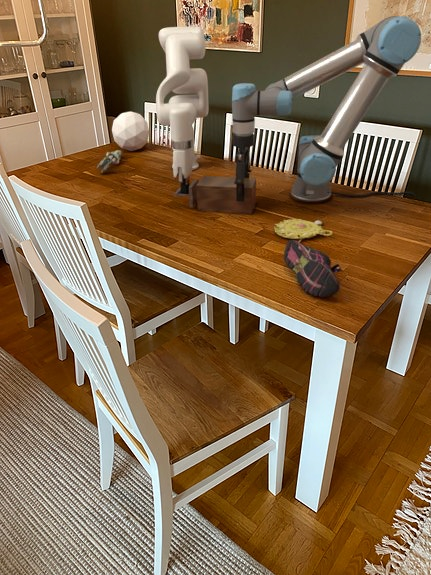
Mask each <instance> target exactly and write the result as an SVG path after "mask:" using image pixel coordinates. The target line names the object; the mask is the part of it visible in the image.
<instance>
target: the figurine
mask: <svg viewBox="0 0 431 575" xmlns="http://www.w3.org/2000/svg"><path fill="white" fill-rule="evenodd" d="M122 153H123V152H122V150H115V151H111V152H110V151H107V152H106V153H105V155H106V156H104V157H103V158H102V159H101V161H100V162H99V163H98V165H97V167H96V169H97V170H100V173H101V174H104V173H105V172H106V171H107V170H108V169H109V168H110V167H111V166H112V165H119V164H120V160H121V158H122V157H123V154H122Z"/></svg>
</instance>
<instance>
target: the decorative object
mask: <svg viewBox="0 0 431 575" xmlns="http://www.w3.org/2000/svg"><path fill="white" fill-rule="evenodd" d="M322 225H323V221H321V220H314V222H313V221H310V220H304V219H303V218H292V219H283V221H279V223H274V227H273V229H274V233H276V234H277V236H279V237H282V238H284V239H285V238H286V239H290V240H298V242H299V243H300V242H302V240H305V239H310V238H313V237H315V236H317V235H319V236H320V235H321V236H325V237H329V236H331V235H333V231H332V230H325V229H323V227H322ZM326 233H327V234H326Z"/></svg>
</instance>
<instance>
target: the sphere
mask: <svg viewBox="0 0 431 575" xmlns="http://www.w3.org/2000/svg"><path fill="white" fill-rule="evenodd" d="M149 128H150V127H149V123H148V122H147V120H146V119H145V118H144V117H143V115H141V114H140V113H139V112H134V111H125V112H122V113H120V114H119V115H118V116H117V117H116V118H114V120H113V122H112V127H111V132H112V136H113V141H114V142H115V143H116V144H117V145H118V147H120V148H121V149H123V150H126V151H129V152H133V151H134V152H135V151H137V150H140V149H142V148H143V147H144V146H145V145H146V144H148V142H149V137H150V129H149Z"/></svg>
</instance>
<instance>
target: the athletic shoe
mask: <svg viewBox="0 0 431 575" xmlns="http://www.w3.org/2000/svg"><path fill="white" fill-rule="evenodd" d="M283 252H284V253H283V261H284V262H285V265H286V266H287V267H288V268H289V269H290V270H292V271H294V272H295V274H296V277H295V279H296V281H297V283H298V285H299V286H300V287H301V289H302V290H303V291H304V292H305V293H307V294H309V295H311V296H314V297H317V296H319V298H323V297H329V296H333V295H337V293H339V291H340V289H341V285H340V282H339V280H338V278H337V277H336V274H335V273H340V272H343V273H344V270H342V267H341V265H340V264H339V263H336V264H334V265H333V266H332V260H331V258H330V256H329V255H327V254H326V253H324V252H322V251H320V250H318V249H316V248H312V247H310V246H308V245H305V244H302V243H300V242H299V241H298V240H296V239H290V240H289V241H288V242H287V243H286V244H285V249H284V251H283Z"/></svg>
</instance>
